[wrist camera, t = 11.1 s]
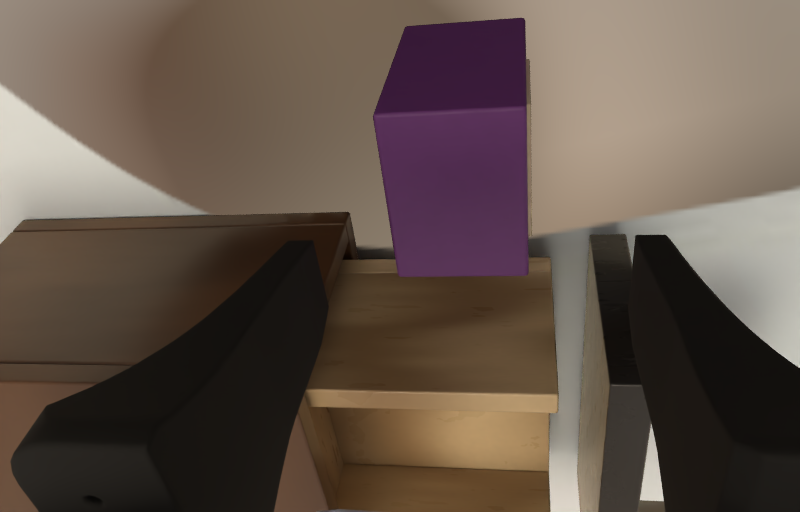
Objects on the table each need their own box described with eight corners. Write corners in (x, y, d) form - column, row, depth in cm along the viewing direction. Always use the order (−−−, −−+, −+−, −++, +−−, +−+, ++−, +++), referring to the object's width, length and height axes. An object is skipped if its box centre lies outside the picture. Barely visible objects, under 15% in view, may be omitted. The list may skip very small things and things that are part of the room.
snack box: (529, 164, 23) (532, 277, 19) (421, 168, 24) (397, 278, 19) (528, 16, 20) (531, 106, 16) (404, 25, 21) (371, 114, 16)
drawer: (776, 230, 23) (854, 389, 17) (714, 477, 31) (755, 637, 25) (274, 240, 26) (211, 377, 20) (337, 461, 34) (303, 601, 28)
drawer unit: (350, 211, 26) (290, 388, 19) (398, 456, 34) (369, 637, 28) (22, 219, 28) (-134, 379, 21) (145, 446, 37) (62, 610, 30)
